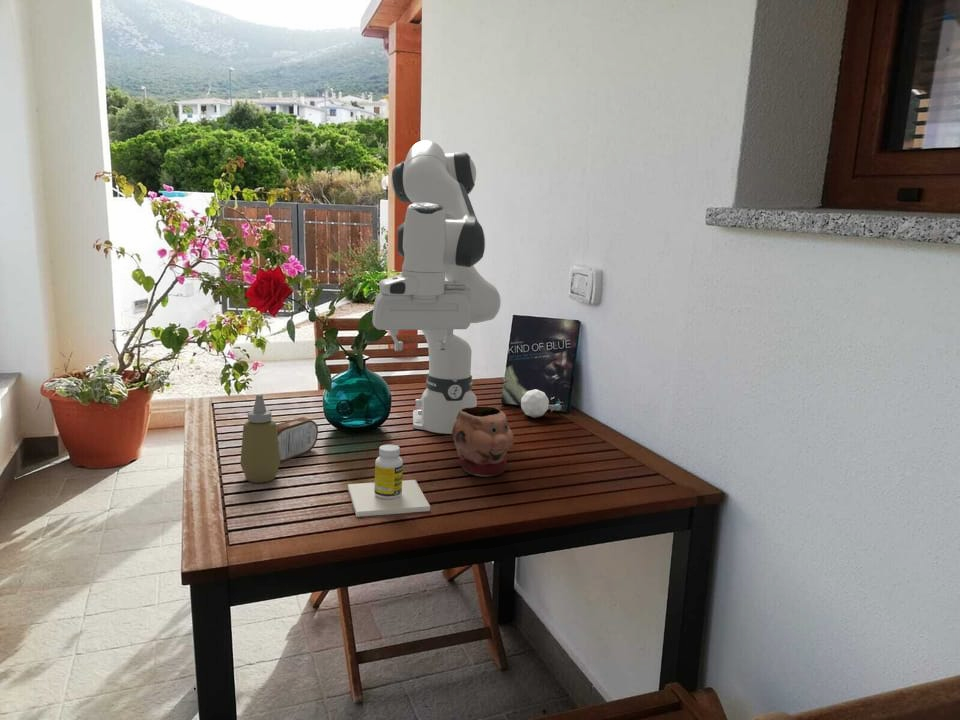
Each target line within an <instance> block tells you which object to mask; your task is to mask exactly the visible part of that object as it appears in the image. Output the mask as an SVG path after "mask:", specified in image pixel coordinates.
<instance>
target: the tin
mask: <svg viewBox="0 0 960 720" xmlns="http://www.w3.org/2000/svg"><path fill="white" fill-rule="evenodd" d="M276 427H277V435H278V443H279V452H280V463H281V462H285V461H288V460H291V459H294V458H296V457H299V456H302V455H306V454H307V453H309V452H311V450H313V448H314V447H315V445H316V444H317V441H318V435H319V427H318V424H317V423H316V422H315V421H314V420H312V419H309V418H307V417H305V416H302V417H298V418H295V419H291V420H287V421H284V422H281V423H278V424H277V423H276Z"/></svg>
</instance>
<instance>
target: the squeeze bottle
mask: <svg viewBox="0 0 960 720" xmlns="http://www.w3.org/2000/svg"><path fill="white" fill-rule="evenodd" d="M247 420H248V421H246V422H245V423H244V424H243V429H242V436H241V437H242V438H241V448H240V449H241V451H240V463H239V465H240V467H241V469H242V472H243V475H244V477H245V479H246V480H247V482H250V483H255V484H257V483H260V484H261V483H267V482H271V481H273V480H274V479H276V478H277V477H276V476H277V473H278V470H279V467H280V465H281V462H280V452H279V443H278V435H277V427H276V425H277V422H275V421H273V420H272V411H271V410H269V409H267V408H266V404H265V399H264V396H263V394H256V397H255V400H254V405H253V409H252V410H250V411H248V413H247Z"/></svg>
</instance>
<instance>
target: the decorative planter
mask: <svg viewBox="0 0 960 720" xmlns="http://www.w3.org/2000/svg"><path fill="white" fill-rule="evenodd" d="M507 419H508V418H507V415H506V413H504V412H503V411H502V409H499V408H497V407H493V406H488V405H487V406H486V405H477V406H475V407H466V408H463V409H461V410H460V411H459V413H458V415H457V421H456V422H455V424H454V426H453V429H452V434H451V436H452V440H453V442H454V445H455V448H456V453H457V456H458V459H459V461H460V466H461V468H462V470H463V471H464V472H466V473H468V474H470V475H473V476H475V477H477V476H478V477H494V476H498V475H501V474H503V473H505V470H506V467H507V464H508V461H507V460H508V456H507V451H508V449H509V448H511V447H512V446H513V445H514V441H515V437H514V436H515V435H514V433H513V431H512V430H511V428H510V426H509V424H508V420H507Z"/></svg>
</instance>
